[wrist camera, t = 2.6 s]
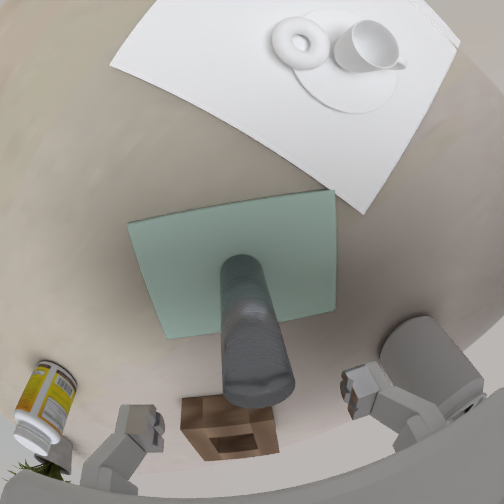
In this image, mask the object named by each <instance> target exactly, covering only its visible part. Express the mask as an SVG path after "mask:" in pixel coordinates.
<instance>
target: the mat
mask: <svg viewBox="0 0 504 504" xmlns="http://www.w3.org/2000/svg"><path fill="white" fill-rule="evenodd" d="M127 228H128V232H129V235H130V238H131V242H132V245H133V248H134V251H135V255H136V258H137V261H138V264H139V267H140V270H141V273H142V276H143V278H144V281H145V284H146V287H147V290H148V292H149V295H150V298H151V300H152V303H153V306H154V308H155V311H156V313H157V316H158V318H159V321H160V323H161V326H162V328H163V331H164V333H165V335H166V338H167V339H173V338H182V337H190V336H198V335H205V334H212V333H219V332H221V313H220V269H221V267H222V265H223V263H224V262H225V261H226V260H227V259H228V258H230V257H232V256H234V255H238V254H246V255H250V256H252V257H254V258H256V259H257V260H258V261H259V262H260V264H261V266H262V269H263V272H264V276H265V279H266V282H267V286H268V289H269V293H270V296H271V300H272V303H273V306H274V310H275V313H276V317H277V320H278V323H279V322H284V321H289V320H294V319H299V318H304V317H309V316H313V315H318V314H322V313H327V312H331V311H335V305H336V264H337V242H336V202H335V190H329V189H323V190H315V191H307V192H300V193H292V194H285V195H278V196H271V197H265V198H258V199H252V200H245V201H239V202H233V203H227V204H221V205H216V206H210V207H204V208H199V209H194V210H188V211H183V212H178V213H173V214H168V215H163V216H158V217H153V218H149V219H144V220H139V221H135V222H130V223H128V224H127Z"/></svg>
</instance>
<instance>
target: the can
mask: <svg viewBox="0 0 504 504" xmlns="http://www.w3.org/2000/svg"><path fill="white" fill-rule="evenodd" d="M380 362H381V364H382V366H383V368H384V369H385V371H386V373H387V374H388V376H389V378H390V380H391V381H392V383H393V385H394V386H397V387H399V388H401V389H403V390H405V391H407V392H410V393H412V394H414V395H416V396H418V397H420V398H423V399H425V400H427V401H429V402H431V403H434V404H436V406H437V408H438V409H439V411H440V412H441V414H442V415H443V417H444V418H445V420H446V422H447V423H448V425H449V424H450V423H452V422H453V421H455V420H456V419H458V418H460V417H461V416H463V415H464V414H466V413H467V412H468V411H470V410H471V409H473V408H474V407H476V406H477V405H478V404H480V403H481V402H482V401H484V400H485V399H486V396H487V394H486V393H483V385H484V379H483V377H482V376H481V375H480V373H479V372H478V371H477V370H476V368H475V367H474V366H473V364H472V363H471V362H470V361H469V360H468V358H467V357H466V356H465V355H464V354H463V352H462V351H461V350H460V349H459V347H458V346H457V345H456V344H455V343H454V342H453V340H452V339H451V338H450V337H449V336H448V335H447V333H446V332H445V331H444V330H443V329H442V328H441V327H440V325H439V324H438V323H437V322H436V321H435V320H434V319H433V318H432V317H429V316H421V317H416V318H411V319H409V320H407V321H405V322H403V323H402V324H400V325H399V326H398V327H396V328H395V329H394V331H393V332H392V333H391V334H390V335H389V336H388V338H387V339H386V341H385V344H384V346H383V349H382V351H381V354H380Z"/></svg>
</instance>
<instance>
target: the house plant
mask: <svg viewBox="0 0 504 504" xmlns="http://www.w3.org/2000/svg"><path fill="white" fill-rule="evenodd" d="M34 457H35V458H36V459H37V460H38V461H39V462H41V463H42V464H41V465H43V466H41V465H38V466H41V467H38V466H34V467H29V465H28V464H27V462H26V461H25V464H26V466H27V467H26V466H24V465H22V464H19V465H20V466H21V465H22V466H23V467H24V468H23V467H22V466H21V467H22V468H21V469H28V470H32V471H33V472H36V473H40V474H41V475H44V476H47V477H51V478H54V479H57V480H60V481H64V480H63V478H62V476H61V474H60V473H62V474H66V475H71V461H72V442H71V441H70V440H68V439H67V438H65V437H64V436H61V439H60V441H59V443H57V444H51V446H50V450H49V453H48V455H47V456H42V455H39V454H37V453H35V454H34ZM35 467H38V468H35ZM19 469H20V468H19ZM39 470H40V471H39ZM10 472H11V473H13V474H15V475H16V473H14V472H12V471H10ZM65 482H68V483H70V482H71V481H65Z"/></svg>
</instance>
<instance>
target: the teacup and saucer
mask: <svg viewBox="0 0 504 504" xmlns="http://www.w3.org/2000/svg"><path fill="white" fill-rule="evenodd" d="M271 46H272V49H273V51H274V53H275V54H276V55H277V57H278V58H279V59H280V60H281V61H282V62H283V63H285V64H286V65H288V66H289V67H291V68H292V70H293V72H294V74H295V76H296V78H297V79H298V81H299V82H300V83H301V85H302V86H303V87H304V88H305V90H306V91H307V92H308V93H309V94H310V95H311V96H313V97H314V98H315V99H316V100H317V101H319V102H320V103H322V104H323V105H325V106H327V107H329V108H331V109H333V110H335V111H338V112H341V113H345V114H351V115H363V114H368V113H372V112H374V111H377V110H379V109H380V108H382V107H383V106H384V105H385V104H386V103H387V102H388V101H389V100H390V99H391V98H392V96H393V95H394V93H395V91H396V88H397V85H398V80H399V71H404V70H406V69H407V67H408V60H407V59H406V58H405V57H404V56H403V55H401V48H400V44H399V42H398V39H397V38H396V36H395V34H394V33H393V32H392V31H391V30H390V29H389V28H388V27H387V26H386V25H385V24H383V23H382V22H380V21H378V20H375V19H371V18H366V17H365V16H363V15H361V14H359V13H357V12H355V11H353V10H350V9H347V8H342V7H336V6H325V7H319V8H315V9H313V10H310V11H308V12H306V13H305V14H303V15H302V16H288V17H285V18H283V19H281V20H280V21H279V22H278V23H277V24H276V25H275V26H274V27H273V29H272V31H271ZM331 49H332V54H333V58H334V60H335V62H336V63H337V64H338V65H339V66H340V67H341V68H342V69H344V70H346V71H348V72H350V73H349V74H350V75H354V76H347V75H348V74H347V73H340V72H341V71H340V70H336V69H337V68H336V67H333V66H334V65H333V64H331V63H332V62H331V61H329V60H331V59H332V58H331V57H330V56H331V55H330V52H331Z"/></svg>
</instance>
